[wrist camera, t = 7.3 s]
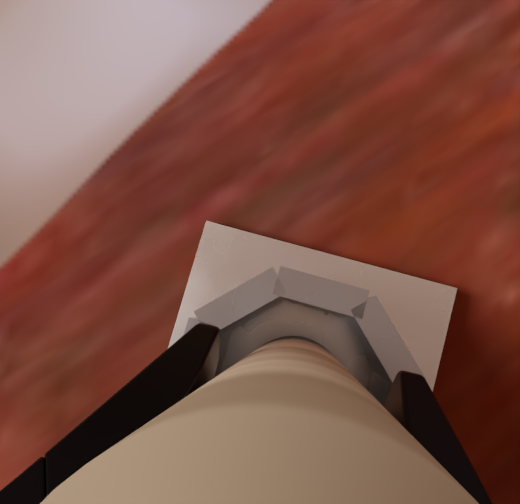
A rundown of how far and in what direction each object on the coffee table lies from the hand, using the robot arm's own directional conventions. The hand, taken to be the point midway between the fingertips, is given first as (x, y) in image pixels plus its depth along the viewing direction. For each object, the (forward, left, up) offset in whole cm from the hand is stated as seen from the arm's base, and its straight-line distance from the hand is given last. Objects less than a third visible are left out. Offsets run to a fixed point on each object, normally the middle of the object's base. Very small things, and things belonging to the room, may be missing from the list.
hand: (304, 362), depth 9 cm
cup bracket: (-1, 0, -9) cm, 9 cm away
